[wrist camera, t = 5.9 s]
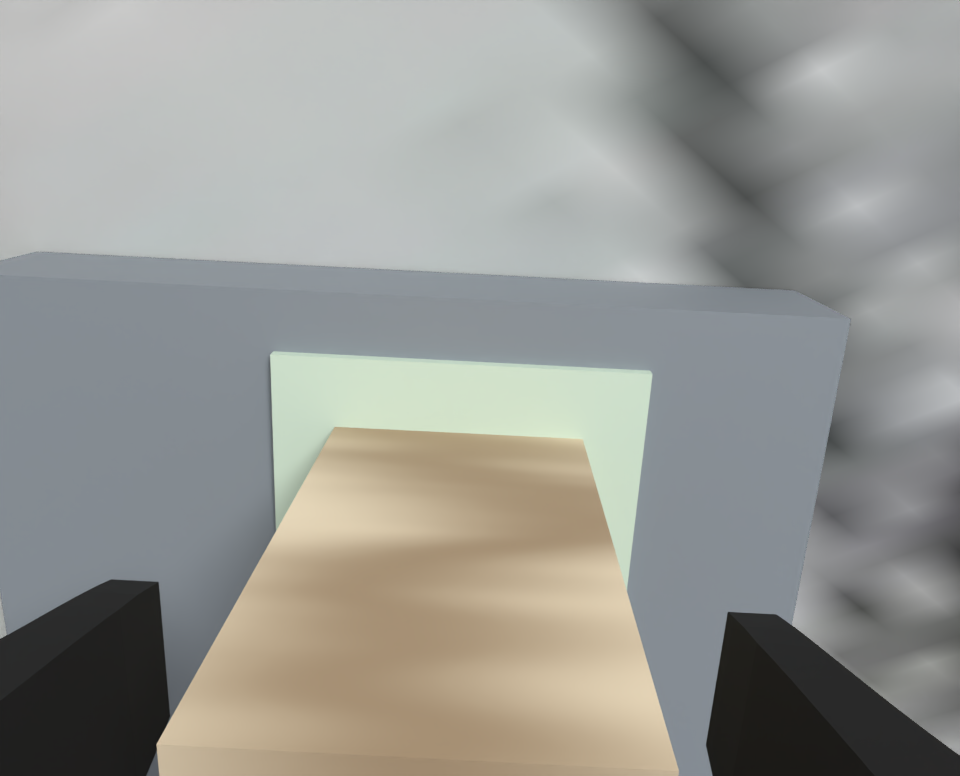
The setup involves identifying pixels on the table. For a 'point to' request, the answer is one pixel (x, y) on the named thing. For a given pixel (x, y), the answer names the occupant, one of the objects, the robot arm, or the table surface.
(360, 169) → the table surface
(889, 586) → the table surface
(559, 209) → the table surface
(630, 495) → the pocket board
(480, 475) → the beech block
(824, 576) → the table surface
